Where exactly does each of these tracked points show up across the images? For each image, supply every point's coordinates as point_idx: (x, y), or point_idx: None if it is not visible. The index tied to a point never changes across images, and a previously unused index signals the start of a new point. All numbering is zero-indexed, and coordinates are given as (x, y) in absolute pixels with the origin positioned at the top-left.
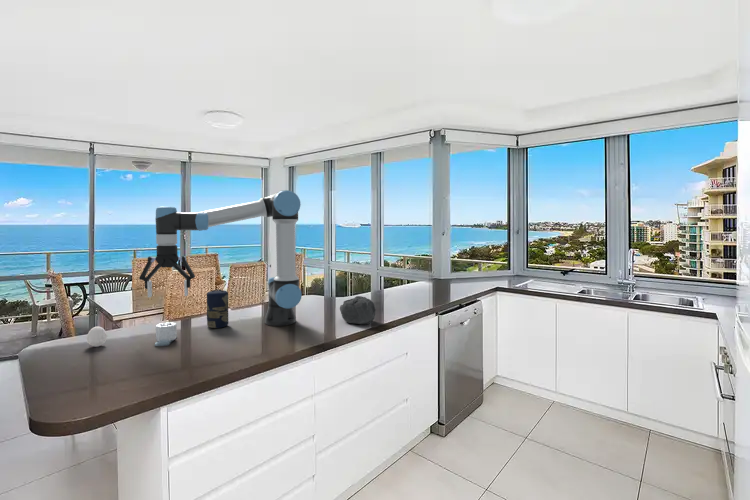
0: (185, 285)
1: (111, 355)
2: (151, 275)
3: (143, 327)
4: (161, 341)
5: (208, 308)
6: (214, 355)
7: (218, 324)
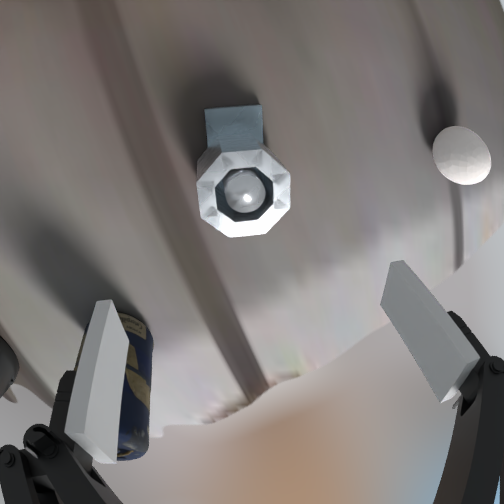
0: (80, 381)
1: (375, 26)
2: (480, 424)
3: (357, 325)
4: (244, 134)
5: (129, 375)
6: (4, 8)
7: None
